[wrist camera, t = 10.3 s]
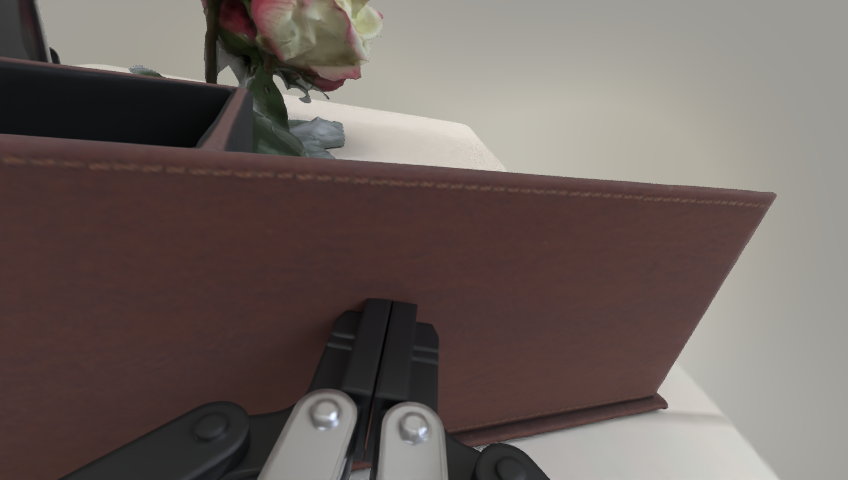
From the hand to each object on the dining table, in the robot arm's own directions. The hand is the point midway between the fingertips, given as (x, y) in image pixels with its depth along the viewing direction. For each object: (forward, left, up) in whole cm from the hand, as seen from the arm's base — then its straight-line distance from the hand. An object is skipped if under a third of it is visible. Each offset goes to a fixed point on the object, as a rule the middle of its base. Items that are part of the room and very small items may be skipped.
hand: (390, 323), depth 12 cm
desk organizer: (-4, -1, -7) cm, 8 cm away
